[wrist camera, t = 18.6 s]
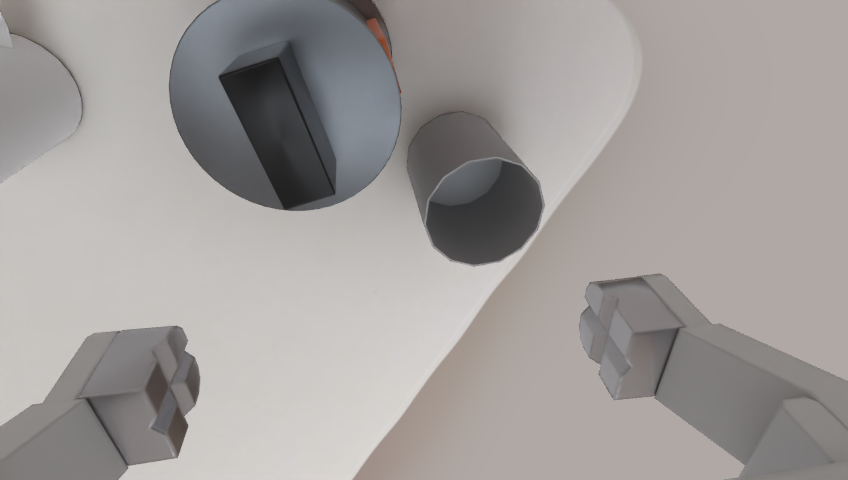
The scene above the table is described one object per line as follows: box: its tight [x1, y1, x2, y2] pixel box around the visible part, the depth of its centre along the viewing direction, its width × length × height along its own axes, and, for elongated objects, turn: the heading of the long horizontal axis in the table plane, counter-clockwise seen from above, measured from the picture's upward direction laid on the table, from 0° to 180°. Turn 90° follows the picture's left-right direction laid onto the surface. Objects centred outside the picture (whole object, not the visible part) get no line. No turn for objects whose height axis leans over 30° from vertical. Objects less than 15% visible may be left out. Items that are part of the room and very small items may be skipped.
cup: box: [407, 112, 545, 266], centre depth 36 cm, size 8×8×10 cm
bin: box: [169, 0, 401, 211], centre depth 26 cm, size 11×11×17 cm
